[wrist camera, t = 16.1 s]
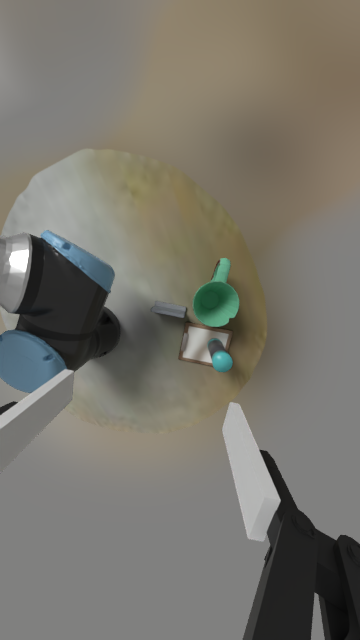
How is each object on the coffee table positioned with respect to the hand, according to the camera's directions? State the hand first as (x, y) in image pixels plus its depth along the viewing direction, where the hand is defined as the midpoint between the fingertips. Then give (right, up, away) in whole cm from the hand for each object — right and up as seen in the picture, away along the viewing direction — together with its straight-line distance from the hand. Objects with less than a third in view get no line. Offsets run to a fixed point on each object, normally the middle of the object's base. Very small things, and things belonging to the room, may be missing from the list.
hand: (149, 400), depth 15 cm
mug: (+11, +14, +32) cm, 37 cm away
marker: (+12, 0, +34) cm, 36 cm away
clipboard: (+9, 0, +35) cm, 36 cm away
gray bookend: (0, +10, +33) cm, 35 cm away
